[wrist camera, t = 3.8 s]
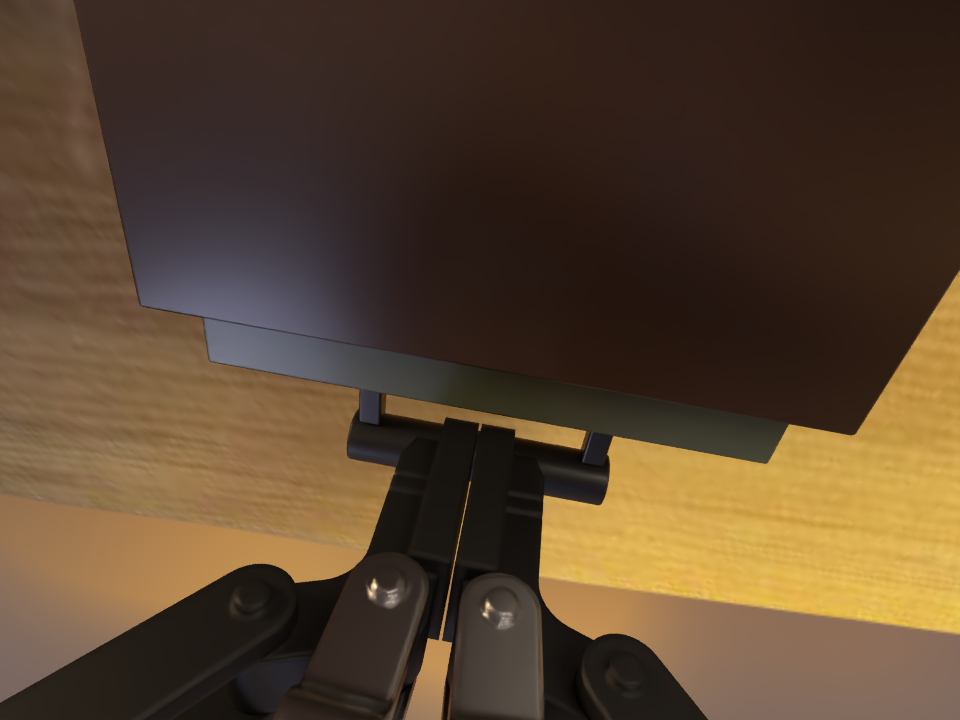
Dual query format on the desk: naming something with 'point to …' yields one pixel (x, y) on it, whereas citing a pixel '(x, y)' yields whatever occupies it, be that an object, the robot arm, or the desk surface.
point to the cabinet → (550, 183)
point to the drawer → (490, 406)
